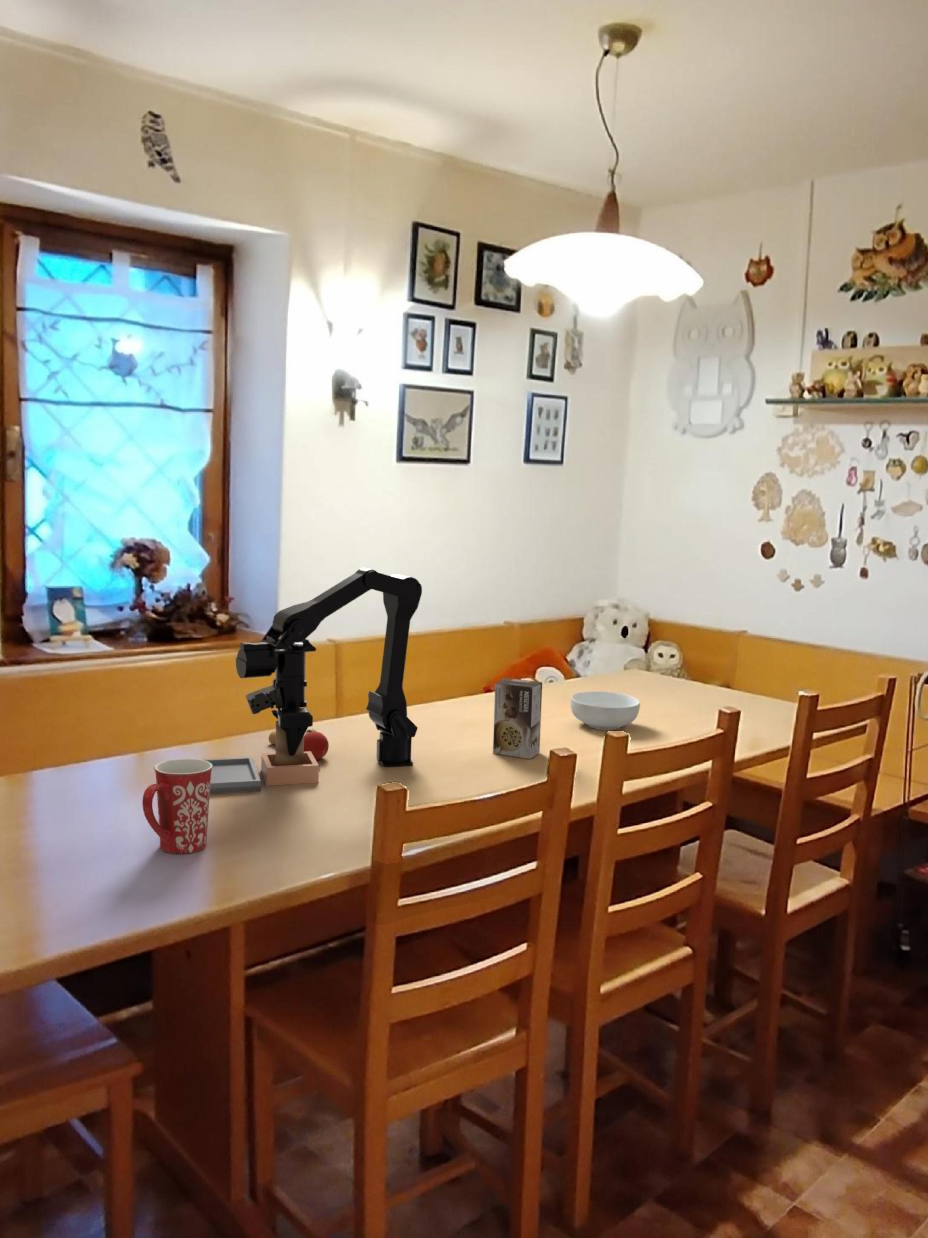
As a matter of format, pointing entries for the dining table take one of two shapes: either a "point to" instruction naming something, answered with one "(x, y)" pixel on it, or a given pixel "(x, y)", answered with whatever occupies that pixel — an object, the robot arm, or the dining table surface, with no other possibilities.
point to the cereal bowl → (604, 709)
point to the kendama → (310, 743)
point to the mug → (180, 804)
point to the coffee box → (517, 718)
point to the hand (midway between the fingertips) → (289, 751)
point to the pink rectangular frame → (289, 770)
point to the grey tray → (234, 775)
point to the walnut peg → (282, 750)
